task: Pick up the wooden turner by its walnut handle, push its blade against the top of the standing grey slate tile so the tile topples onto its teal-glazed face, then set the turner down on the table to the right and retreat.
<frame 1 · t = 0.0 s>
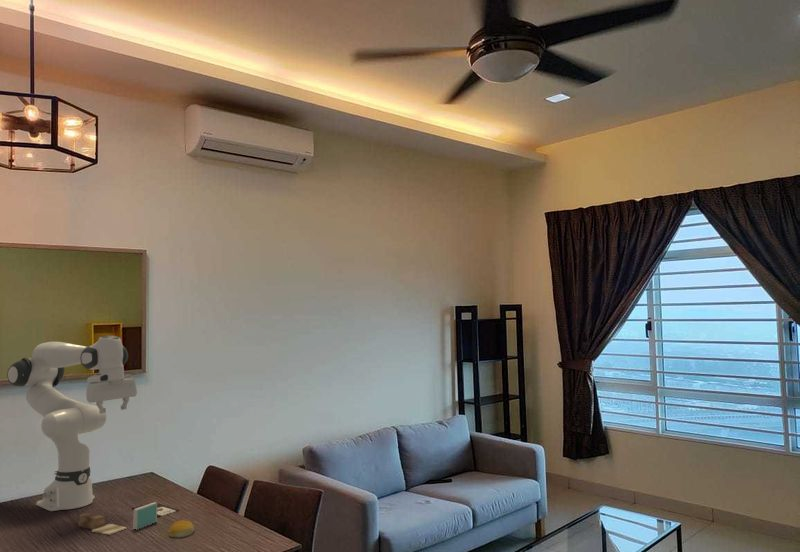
hand: (113, 411, 230), 39 cm above the table, tool pointing down, fingers open, 8 cm apart
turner: (100, 529, 209), on the table
bread roll: (181, 534, 204), on the table
tile: (145, 525, 212), on the table
chocolate bar: (155, 511, 229), on the table
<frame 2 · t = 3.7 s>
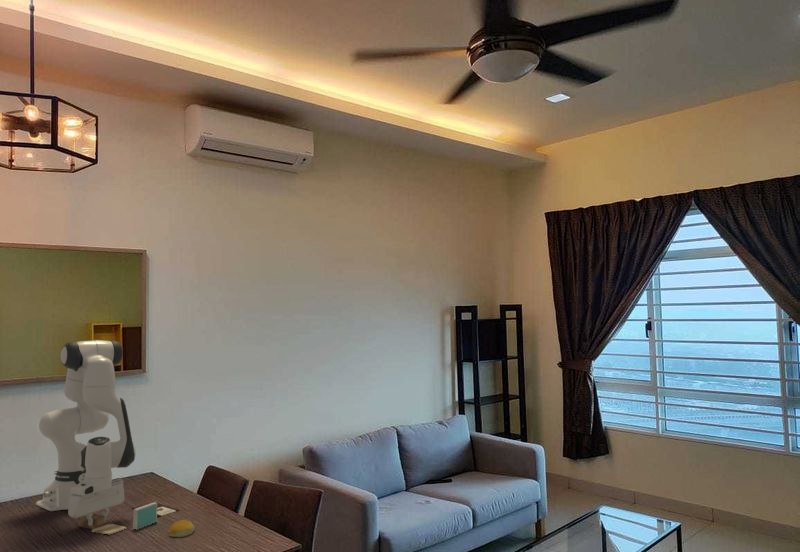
hand: (97, 523, 210), 2 cm above the table, tool pointing down, fingers closed on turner, 3 cm apart
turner: (100, 528, 209), on the table, touching gripper
everything else where it was.
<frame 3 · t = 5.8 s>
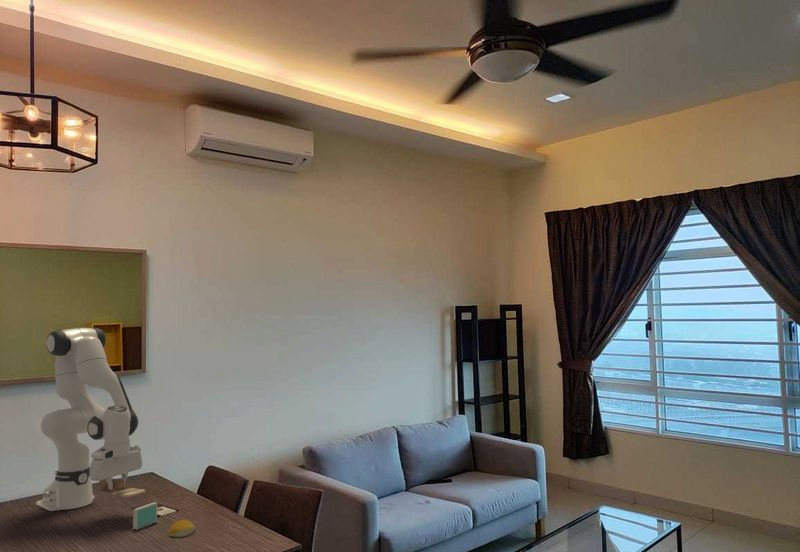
hand: (116, 487, 219), 12 cm above the table, tool pointing down, fingers closed on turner, 3 cm apart
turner: (120, 492, 218), point 10 cm above the table, touching gripper
everything else where it was.
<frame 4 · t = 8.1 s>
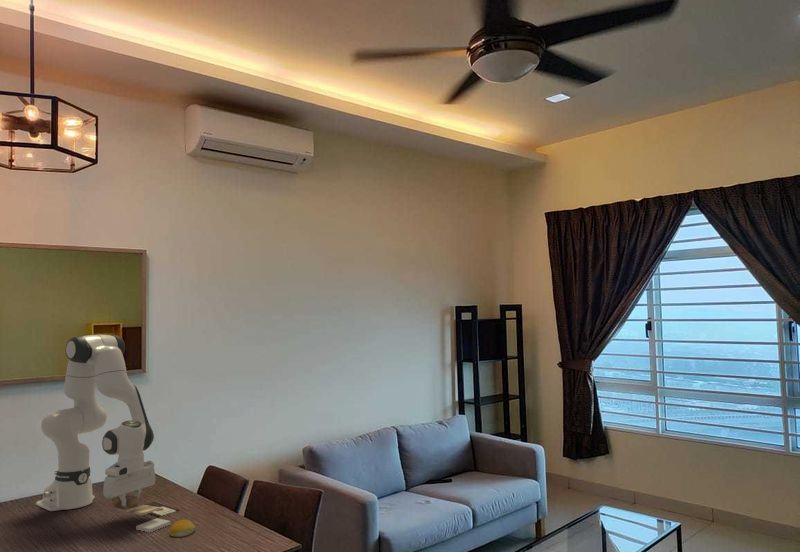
hand: (130, 503, 216), 7 cm above the table, tool pointing down, fingers closed on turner, 3 cm apart
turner: (134, 509, 215), point 5 cm above the table, touching gripper
tile: (146, 524, 212), point 1 cm above the table, tilted 90°
everything else where it was.
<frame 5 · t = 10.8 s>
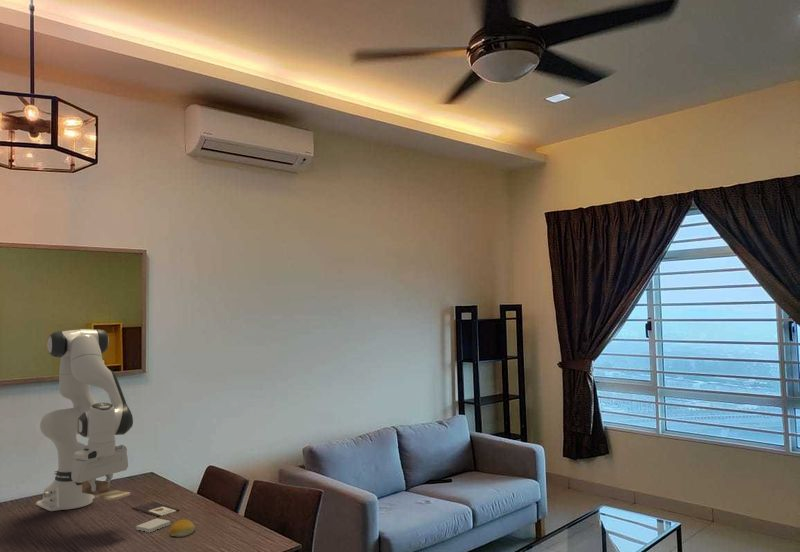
hand: (100, 489, 208), 15 cm above the table, tool pointing down, fingers closed on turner, 3 cm apart
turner: (104, 494, 206), point 13 cm above the table, touching gripper
everything else where it was.
when the fingers open (2 cm above the table, at t = 13.2 s): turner stays where it is, on the table.
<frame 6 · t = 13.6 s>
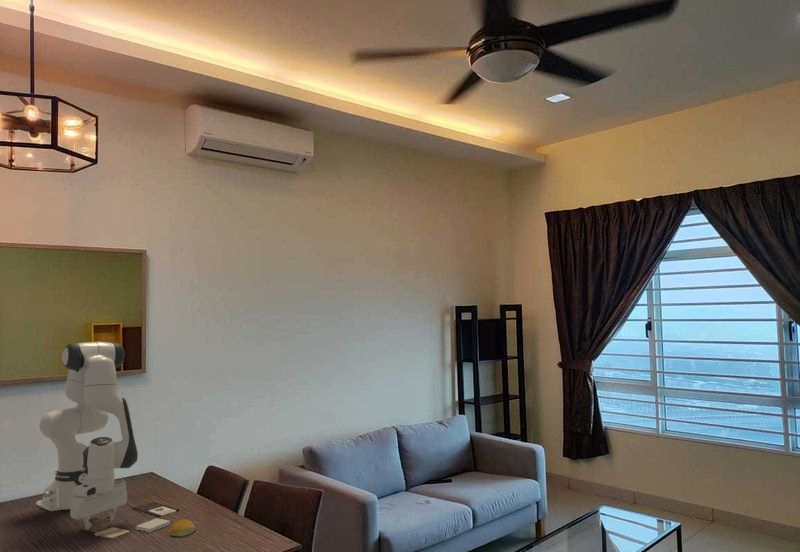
hand: (99, 524, 207), 2 cm above the table, tool pointing down, fingers open, 7 cm apart
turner: (103, 532, 206), on the table
everything else where it was.
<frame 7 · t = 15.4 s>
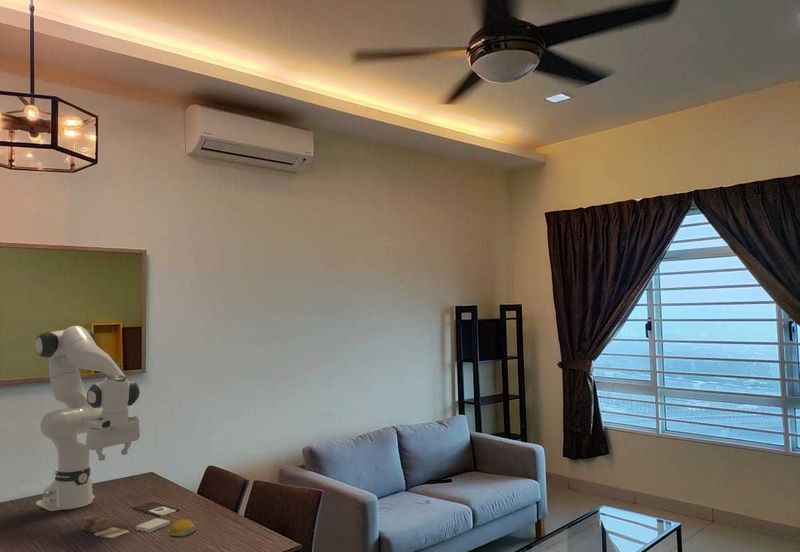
hand: (113, 457, 216), 24 cm above the table, tool pointing down, fingers open, 8 cm apart
nothing on the table moved.
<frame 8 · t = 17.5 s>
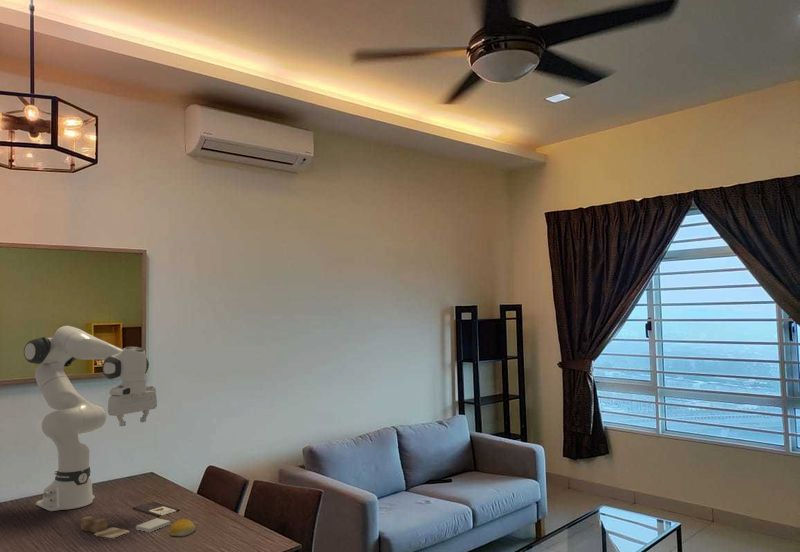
hand: (133, 424, 228), 34 cm above the table, tool pointing down, fingers open, 8 cm apart
at the end: tile tilted 90°; tile inside the target area (4.4 cm from its centre), point 0.5 cm above the table; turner on the table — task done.
